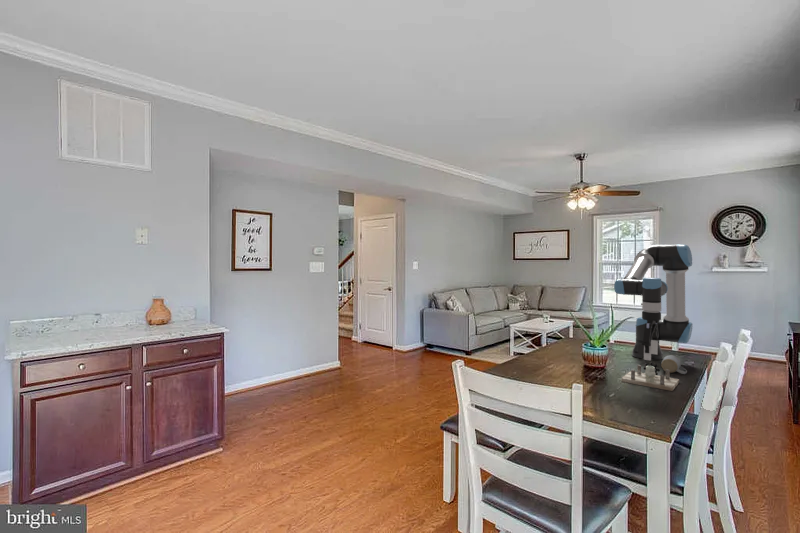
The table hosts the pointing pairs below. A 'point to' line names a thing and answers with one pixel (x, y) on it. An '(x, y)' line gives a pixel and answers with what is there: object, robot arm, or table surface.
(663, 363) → the ceramic mug
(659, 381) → the peg board
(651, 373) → the valve
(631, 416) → the table surface
